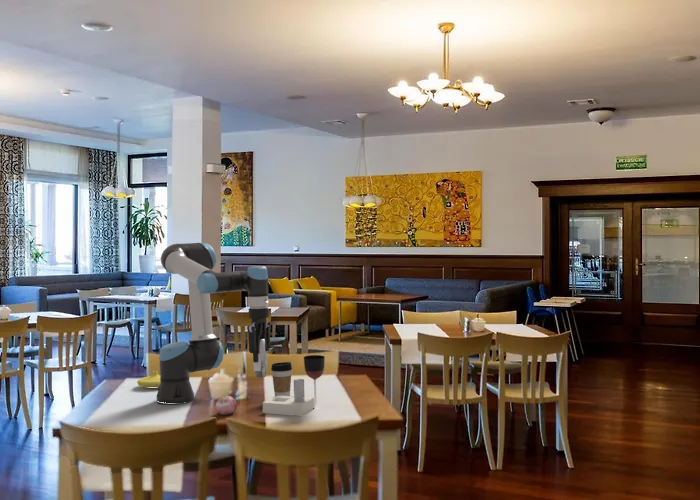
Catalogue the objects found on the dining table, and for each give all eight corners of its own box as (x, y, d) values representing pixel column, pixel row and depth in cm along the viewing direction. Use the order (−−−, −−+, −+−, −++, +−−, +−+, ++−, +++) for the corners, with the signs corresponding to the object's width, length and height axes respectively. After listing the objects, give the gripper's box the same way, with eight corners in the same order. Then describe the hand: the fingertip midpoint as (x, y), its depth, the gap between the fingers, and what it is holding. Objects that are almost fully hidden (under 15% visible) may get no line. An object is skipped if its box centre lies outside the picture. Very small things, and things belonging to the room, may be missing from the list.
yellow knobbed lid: (158, 382, 328) (157, 366, 328) (180, 385, 319) (180, 370, 319) (129, 388, 315) (129, 372, 315) (152, 392, 306) (152, 376, 306)
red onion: (221, 419, 261) (214, 402, 261) (217, 417, 268) (210, 399, 268) (241, 410, 264) (234, 392, 264) (236, 407, 271) (229, 390, 271)
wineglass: (310, 412, 267) (309, 359, 266) (301, 407, 275) (300, 356, 274) (329, 409, 271) (328, 357, 270) (320, 404, 278) (318, 354, 278)
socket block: (262, 413, 266) (262, 381, 266) (277, 405, 277) (276, 375, 277) (301, 416, 260) (300, 383, 260) (314, 408, 271) (313, 377, 271)
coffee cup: (289, 402, 282) (288, 365, 281) (269, 401, 283) (268, 364, 283) (295, 397, 290) (294, 361, 289) (275, 397, 291) (274, 361, 291)
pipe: (253, 377, 263) (252, 339, 263) (258, 375, 267) (257, 338, 267) (262, 377, 262) (261, 340, 261) (267, 375, 265) (266, 338, 265)
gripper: (255, 310, 254) (257, 374, 255) (278, 305, 270) (280, 365, 271) (237, 309, 257) (239, 373, 258) (261, 304, 273) (263, 364, 274)
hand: (260, 369), depth 264 cm, fingers closed on pipe, 4 cm apart
